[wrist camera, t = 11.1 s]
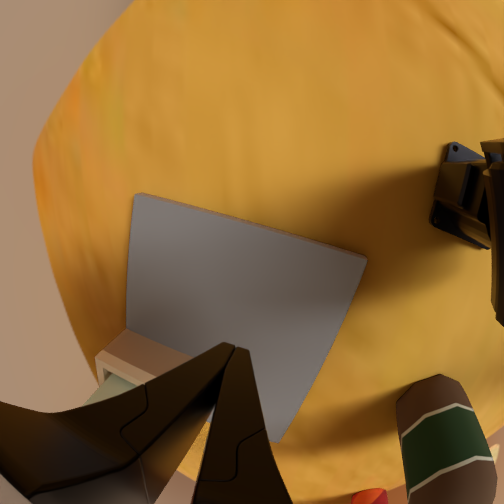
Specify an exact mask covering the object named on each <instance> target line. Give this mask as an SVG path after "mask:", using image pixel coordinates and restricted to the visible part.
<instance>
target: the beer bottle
mask: <svg viewBox="0 0 504 504" xmlns="http://www.w3.org/2000/svg"><path fill="white" fill-rule="evenodd" d="M396 414H397V427H398V435H399V440H400V446H401V452H402V459H403V466H404V473H405V481H406V489H407V499H408V504H492V503H493V501H494V498H495V493H496V485H497V474H496V469H495V465H494V460H493V458H492V455H491V452H490V449H489V447H488V444H487V441H486V439H485V436H484V434H483V431H482V429H481V426H480V424H479V422H478V419H477V417H476V415H475V412H474V410H473V408H472V406H471V404H470V401H469V399H468V397H467V395H466V393H465V391H464V389H463V388H462V386H461V384H460V383H459V382H458V381H456V380H453V379H451V378H449V377H446V376H444V375H442V374H439V375H436V376H434V377H431V378H428V379H425V380H422V381H419V382H416V383H414V385H413V386H412V387H411V388H410V389H409V390H408V391H407V392H406V393H405V394H404V395H403V396H402V397H401V398H400V399H399V400H398V401H397V403H396Z"/></svg>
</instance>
